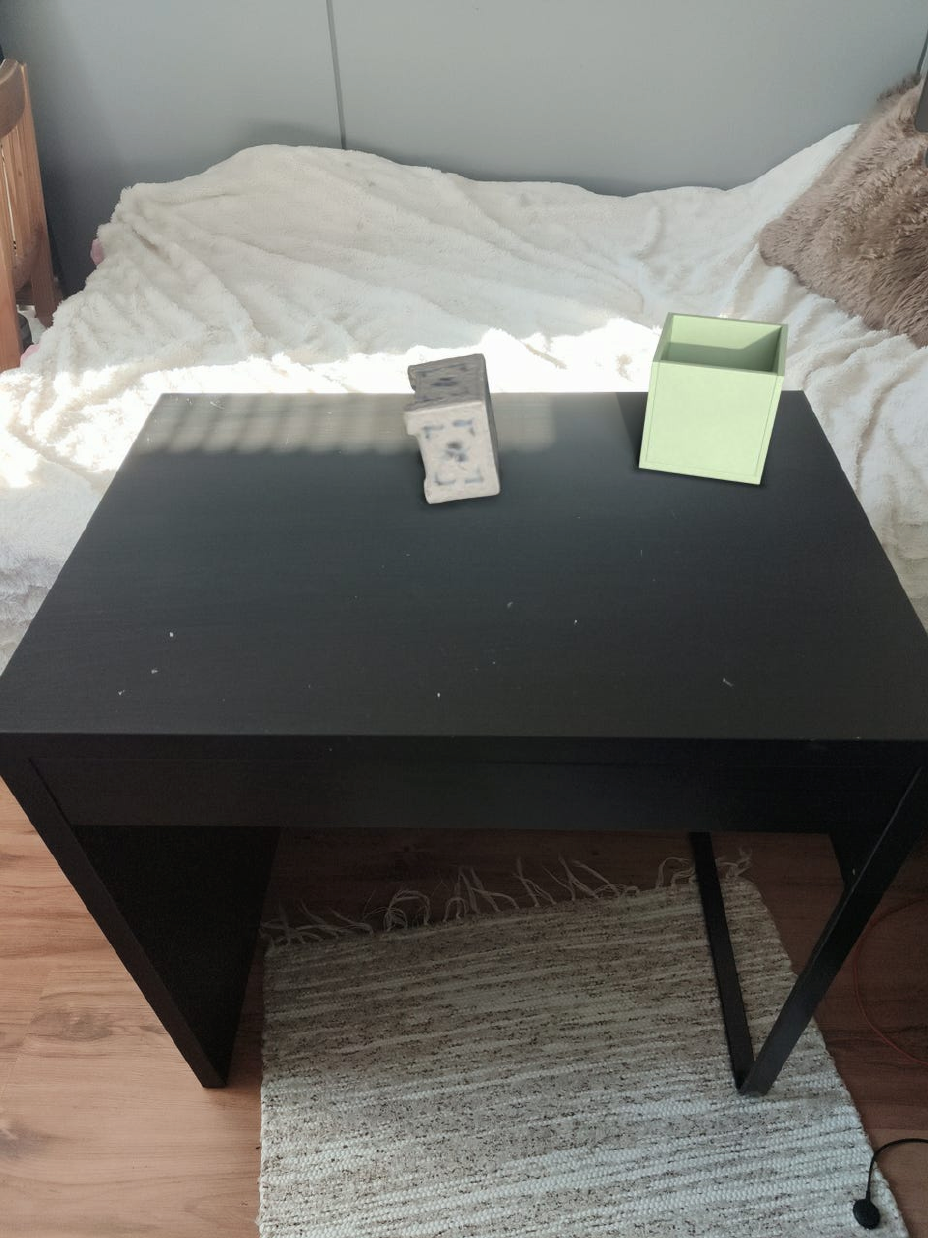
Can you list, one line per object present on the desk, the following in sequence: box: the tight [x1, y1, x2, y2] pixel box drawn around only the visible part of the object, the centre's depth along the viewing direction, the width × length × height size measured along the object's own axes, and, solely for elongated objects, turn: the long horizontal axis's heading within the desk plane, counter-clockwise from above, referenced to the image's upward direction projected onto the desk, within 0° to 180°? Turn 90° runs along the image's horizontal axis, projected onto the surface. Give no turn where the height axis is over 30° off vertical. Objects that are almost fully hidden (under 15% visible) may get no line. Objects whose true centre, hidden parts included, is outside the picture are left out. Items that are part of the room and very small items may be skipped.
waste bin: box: [638, 311, 789, 485], centre depth 86 cm, size 11×11×11 cm
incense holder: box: [402, 352, 501, 505], centre depth 82 cm, size 10×8×10 cm
